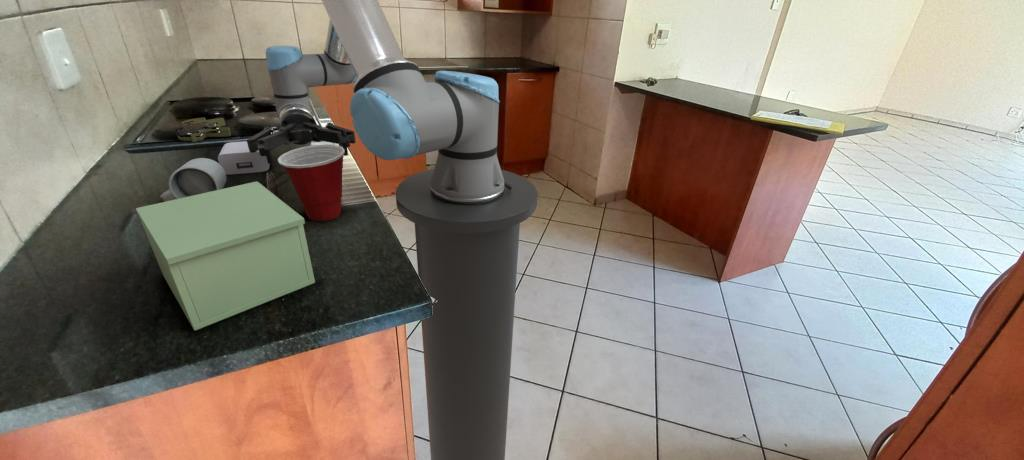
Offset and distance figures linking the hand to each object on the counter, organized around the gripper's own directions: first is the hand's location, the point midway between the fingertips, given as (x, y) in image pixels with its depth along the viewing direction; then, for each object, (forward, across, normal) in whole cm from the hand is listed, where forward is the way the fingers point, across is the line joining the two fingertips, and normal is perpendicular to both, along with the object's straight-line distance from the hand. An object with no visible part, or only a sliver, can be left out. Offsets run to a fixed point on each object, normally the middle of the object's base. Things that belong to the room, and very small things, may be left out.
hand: (308, 152), depth 82 cm
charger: (-26, +12, -9) cm, 30 cm away
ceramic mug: (-6, +20, -9) cm, 23 cm away
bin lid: (+27, +13, +1) cm, 30 cm away
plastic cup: (+10, 0, -9) cm, 13 cm away
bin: (+27, +13, -9) cm, 31 cm away
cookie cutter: (-56, +23, -10) cm, 61 cm away
